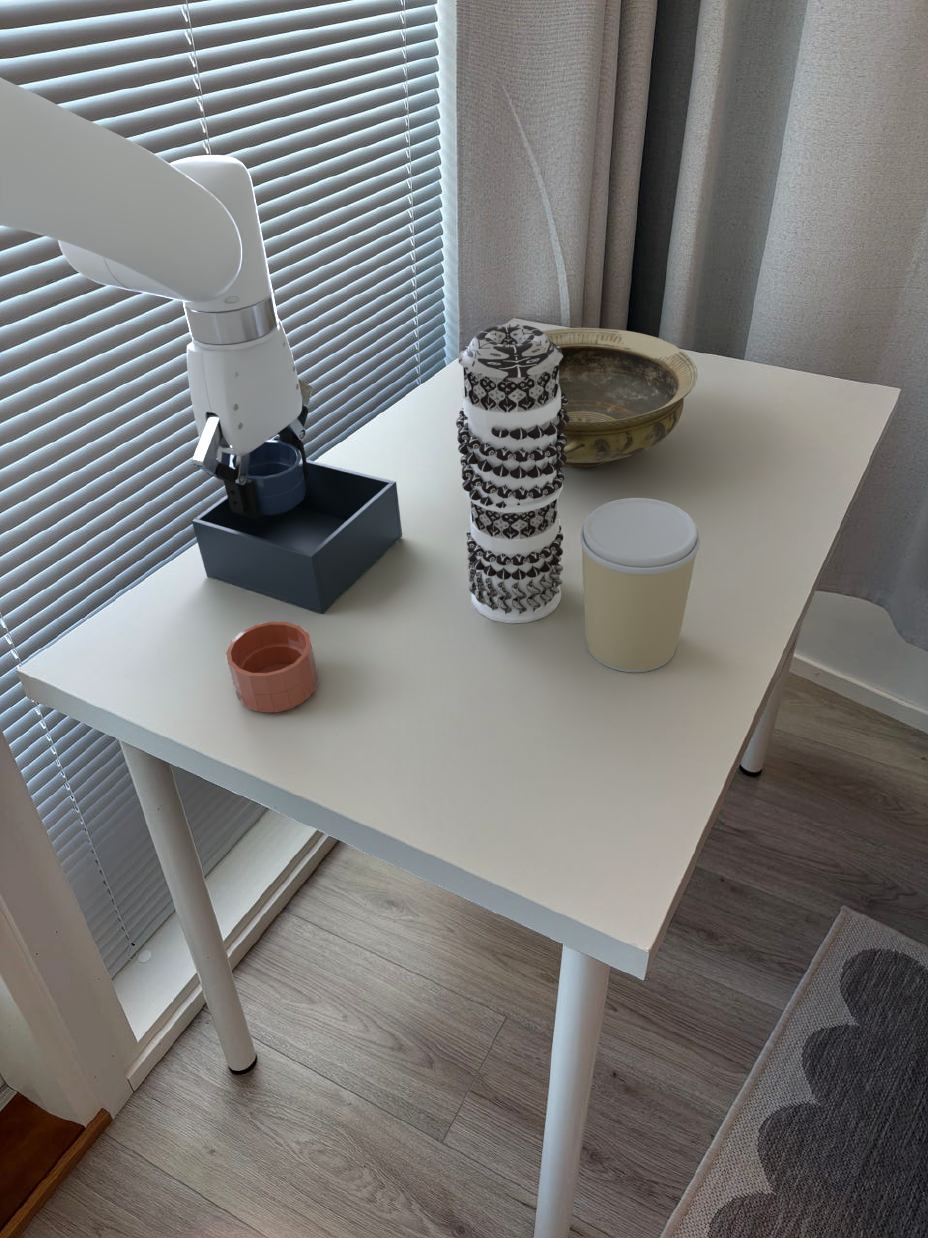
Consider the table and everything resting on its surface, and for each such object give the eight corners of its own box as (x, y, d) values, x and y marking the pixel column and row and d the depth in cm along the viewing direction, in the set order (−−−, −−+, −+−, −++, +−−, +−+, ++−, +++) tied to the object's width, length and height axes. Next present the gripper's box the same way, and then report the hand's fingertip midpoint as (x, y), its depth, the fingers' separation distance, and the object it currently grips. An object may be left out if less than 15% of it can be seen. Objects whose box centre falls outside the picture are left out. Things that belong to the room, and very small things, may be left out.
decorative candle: (583, 582, 89) (591, 323, 73) (535, 638, 83) (533, 370, 68) (499, 556, 93) (490, 305, 78) (448, 607, 87) (427, 347, 72)
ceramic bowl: (653, 538, 94) (660, 449, 88) (433, 499, 102) (426, 415, 96) (712, 406, 115) (722, 326, 109) (527, 382, 123) (526, 306, 117)
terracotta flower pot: (242, 725, 77) (231, 684, 74) (233, 672, 82) (222, 632, 79) (325, 705, 78) (317, 664, 75) (311, 654, 83) (303, 614, 80)
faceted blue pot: (240, 523, 90) (233, 483, 87) (231, 485, 95) (224, 446, 92) (312, 511, 91) (307, 471, 88) (299, 474, 96) (294, 435, 93)
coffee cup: (705, 633, 83) (721, 516, 75) (654, 695, 77) (666, 575, 69) (611, 597, 87) (617, 484, 80) (556, 653, 82) (557, 537, 74)
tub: (322, 614, 88) (311, 556, 83) (206, 576, 93) (191, 520, 89) (402, 536, 97) (396, 481, 93) (292, 506, 103) (282, 453, 98)
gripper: (261, 277, 89) (294, 446, 100) (127, 349, 77) (181, 531, 88) (327, 287, 85) (353, 460, 97) (197, 364, 74) (244, 551, 85)
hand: (271, 493), depth 92 cm, fingers closed on faceted blue pot, 7 cm apart
